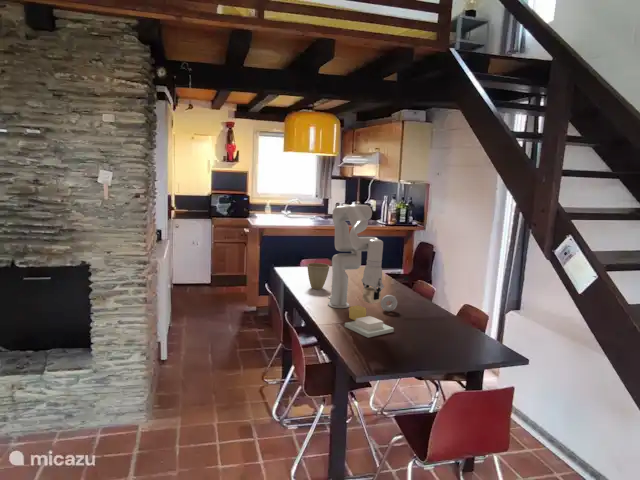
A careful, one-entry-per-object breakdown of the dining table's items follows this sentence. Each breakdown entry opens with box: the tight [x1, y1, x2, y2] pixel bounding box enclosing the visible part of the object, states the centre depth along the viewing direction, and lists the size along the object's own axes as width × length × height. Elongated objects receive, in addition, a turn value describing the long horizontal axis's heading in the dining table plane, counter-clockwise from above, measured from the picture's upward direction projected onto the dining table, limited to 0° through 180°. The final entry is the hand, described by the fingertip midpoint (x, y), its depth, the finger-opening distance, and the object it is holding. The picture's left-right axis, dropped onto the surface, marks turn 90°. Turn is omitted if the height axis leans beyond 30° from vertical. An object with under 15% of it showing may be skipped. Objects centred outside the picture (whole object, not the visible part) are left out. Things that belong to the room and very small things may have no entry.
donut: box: [380, 294, 398, 312], centre depth 284 cm, size 10×4×10 cm, turn 98°
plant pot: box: [307, 262, 330, 290], centre depth 326 cm, size 15×15×16 cm
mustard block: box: [348, 304, 367, 321], centre depth 267 cm, size 6×6×6 cm
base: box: [344, 315, 395, 338], centre depth 251 cm, size 18×18×5 cm
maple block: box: [362, 286, 382, 304], centre depth 249 cm, size 6×6×6 cm
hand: (371, 297), depth 249 cm, fingers closed on maple block, 6 cm apart
